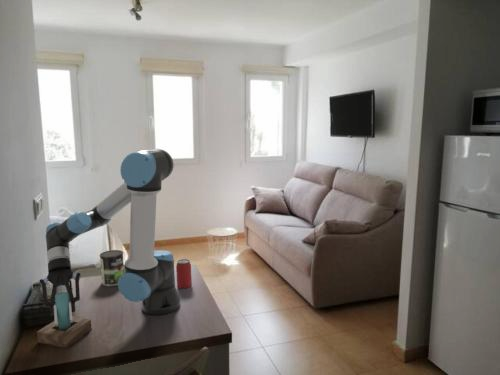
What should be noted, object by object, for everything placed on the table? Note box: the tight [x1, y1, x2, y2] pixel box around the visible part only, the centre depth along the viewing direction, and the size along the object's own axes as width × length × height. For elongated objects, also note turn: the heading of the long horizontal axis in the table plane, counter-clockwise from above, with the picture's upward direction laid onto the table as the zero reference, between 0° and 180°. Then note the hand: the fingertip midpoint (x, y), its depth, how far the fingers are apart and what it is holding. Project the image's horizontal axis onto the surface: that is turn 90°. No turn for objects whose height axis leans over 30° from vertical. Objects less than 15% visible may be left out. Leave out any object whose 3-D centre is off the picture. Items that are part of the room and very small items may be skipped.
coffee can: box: [99, 249, 125, 287], centre depth 175 cm, size 10×10×14 cm
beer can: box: [175, 258, 193, 290], centre depth 170 cm, size 7×7×12 cm
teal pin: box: [55, 291, 71, 331], centre depth 130 cm, size 4×4×14 cm
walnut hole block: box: [36, 315, 92, 349], centre depth 131 cm, size 12×12×4 cm
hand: (64, 322), depth 127 cm, fingers closed on teal pin, 4 cm apart
